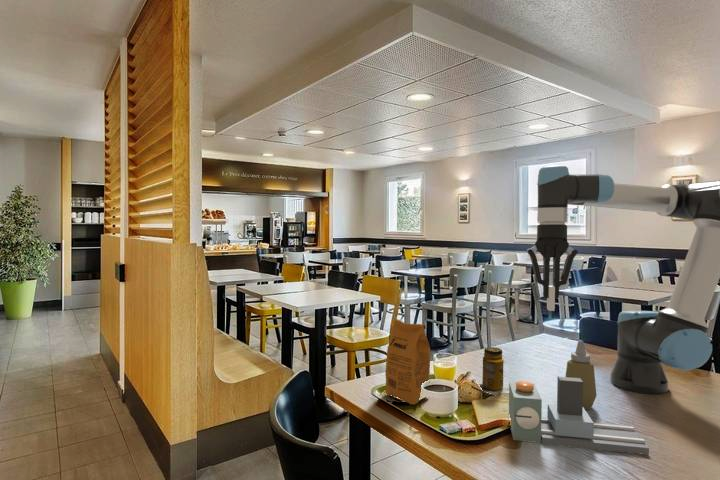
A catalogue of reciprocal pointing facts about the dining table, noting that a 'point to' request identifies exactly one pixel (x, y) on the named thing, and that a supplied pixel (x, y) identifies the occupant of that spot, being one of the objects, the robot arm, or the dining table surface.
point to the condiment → (493, 371)
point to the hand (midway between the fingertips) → (550, 309)
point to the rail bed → (598, 438)
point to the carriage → (570, 410)
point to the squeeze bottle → (583, 373)
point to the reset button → (524, 386)
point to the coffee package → (407, 361)
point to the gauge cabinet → (525, 414)
